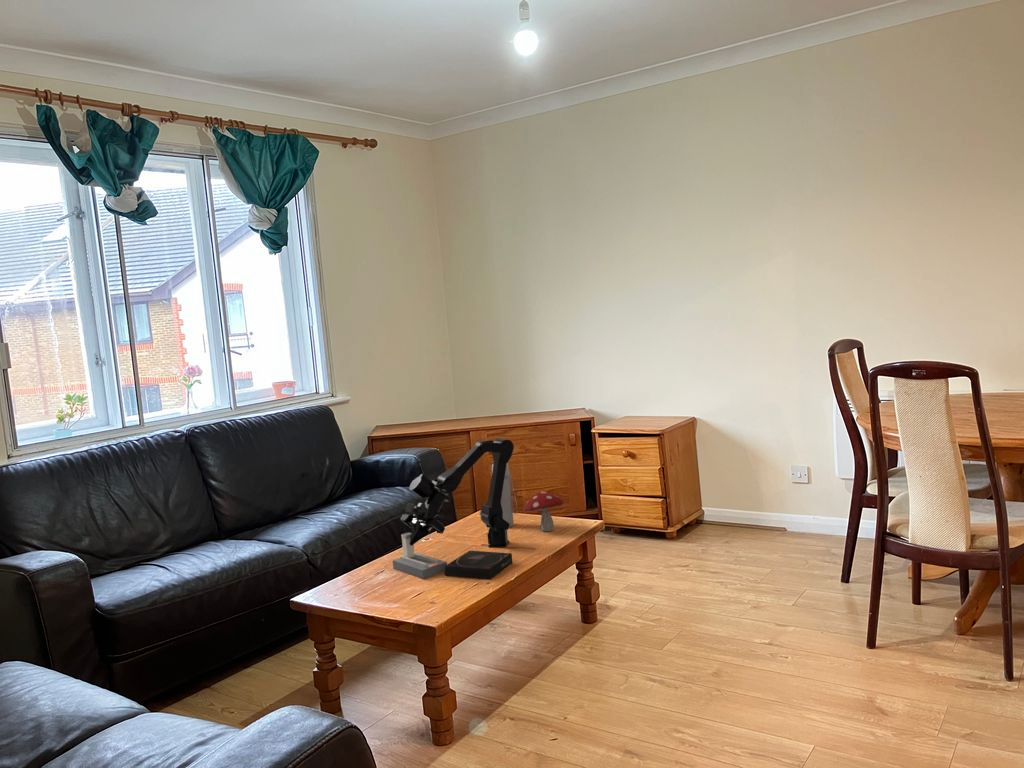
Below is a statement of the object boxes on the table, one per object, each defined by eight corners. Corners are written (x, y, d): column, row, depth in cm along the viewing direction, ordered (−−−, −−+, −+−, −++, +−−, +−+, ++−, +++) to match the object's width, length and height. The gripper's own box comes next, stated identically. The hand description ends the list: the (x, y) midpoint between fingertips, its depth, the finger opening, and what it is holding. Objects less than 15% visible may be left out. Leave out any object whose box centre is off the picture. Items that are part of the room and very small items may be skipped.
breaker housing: (417, 560, 283) (416, 549, 283) (447, 570, 270) (446, 559, 269) (393, 568, 277) (392, 557, 276) (423, 579, 263) (422, 567, 263)
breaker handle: (410, 554, 279) (408, 532, 279) (415, 556, 277) (412, 533, 276) (403, 556, 277) (401, 534, 277) (407, 558, 275) (405, 535, 275)
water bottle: (494, 529, 316) (488, 466, 314) (497, 523, 324) (492, 462, 321) (517, 528, 314) (511, 465, 312) (520, 522, 322) (515, 461, 320)
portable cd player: (469, 561, 279) (468, 550, 279) (512, 564, 272) (511, 553, 271) (444, 577, 265) (443, 565, 264) (490, 581, 257) (489, 569, 257)
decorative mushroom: (520, 536, 303) (516, 497, 302) (531, 524, 318) (528, 487, 317) (560, 536, 298) (557, 497, 297) (570, 524, 313) (567, 487, 312)
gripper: (401, 491, 282) (379, 529, 276) (434, 495, 269) (411, 536, 262) (421, 508, 288) (400, 546, 282) (454, 513, 275) (433, 553, 268)
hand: (410, 544), depth 273 cm, fingers closed
